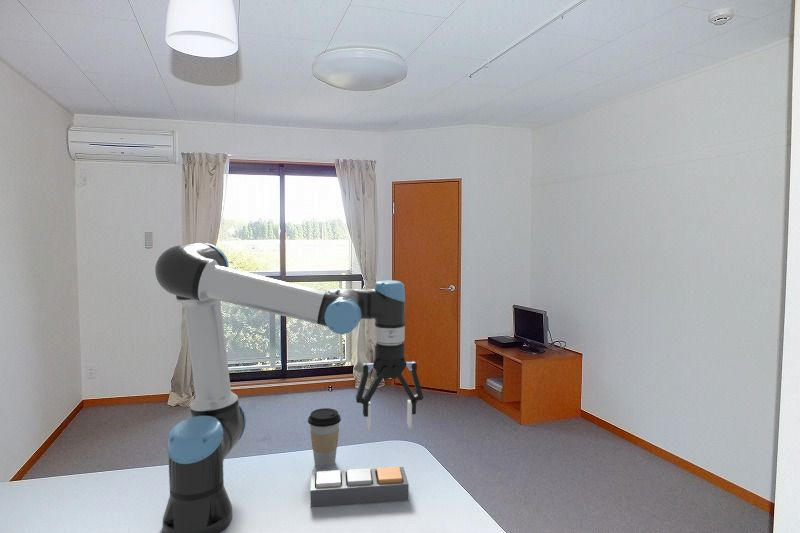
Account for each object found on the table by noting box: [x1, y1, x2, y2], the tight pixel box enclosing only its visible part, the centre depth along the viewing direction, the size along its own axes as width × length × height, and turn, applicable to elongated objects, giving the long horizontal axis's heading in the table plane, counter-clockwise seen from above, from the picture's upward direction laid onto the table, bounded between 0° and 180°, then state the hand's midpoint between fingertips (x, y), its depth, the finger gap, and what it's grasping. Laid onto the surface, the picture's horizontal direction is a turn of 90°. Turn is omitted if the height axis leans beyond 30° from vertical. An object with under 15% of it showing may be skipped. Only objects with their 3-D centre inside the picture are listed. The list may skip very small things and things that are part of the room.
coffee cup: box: [307, 407, 342, 469], centre depth 145 cm, size 9×9×15 cm
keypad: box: [309, 466, 410, 509], centre depth 129 cm, size 24×9×4 cm, turn 98°
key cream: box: [316, 469, 341, 488], centre depth 128 cm, size 6×6×2 cm
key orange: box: [376, 466, 402, 484], centre depth 130 cm, size 6×6×2 cm
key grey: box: [347, 467, 372, 486], centre depth 129 cm, size 6×6×2 cm
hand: (389, 427), depth 129 cm, fingers open, 10 cm apart
